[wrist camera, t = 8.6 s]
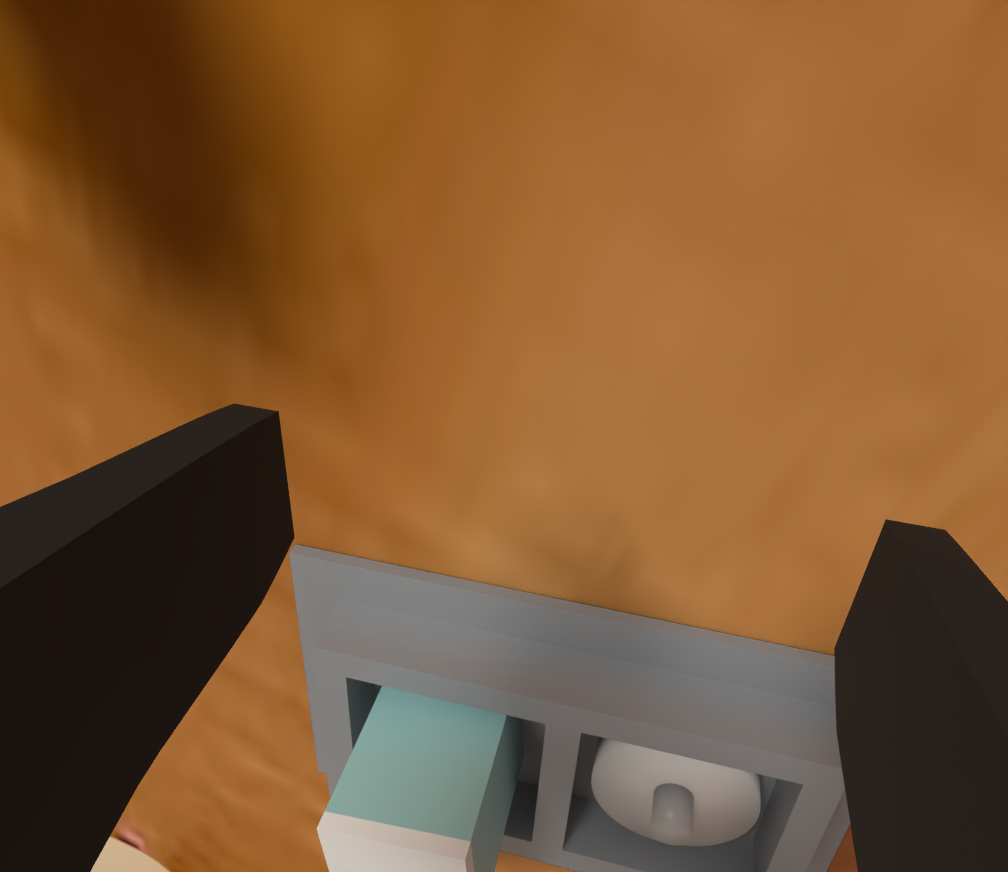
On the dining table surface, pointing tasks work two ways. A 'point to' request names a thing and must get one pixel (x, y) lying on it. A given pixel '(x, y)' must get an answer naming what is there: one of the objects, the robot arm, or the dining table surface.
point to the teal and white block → (423, 788)
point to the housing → (591, 717)
